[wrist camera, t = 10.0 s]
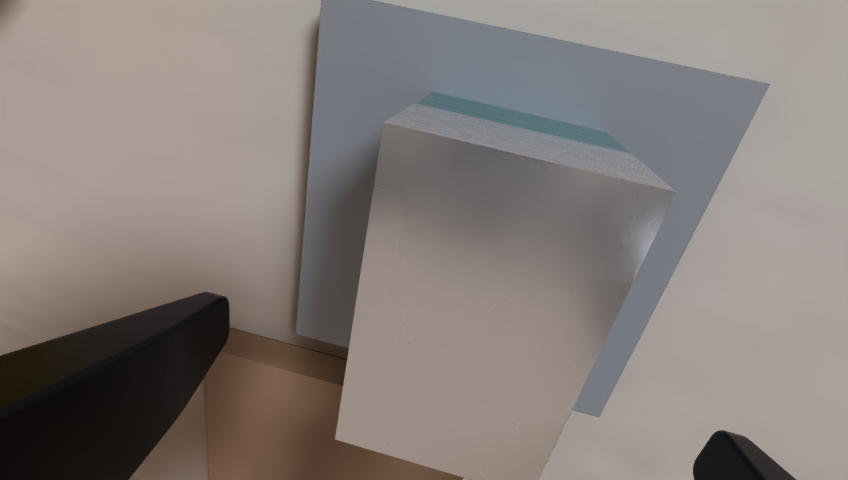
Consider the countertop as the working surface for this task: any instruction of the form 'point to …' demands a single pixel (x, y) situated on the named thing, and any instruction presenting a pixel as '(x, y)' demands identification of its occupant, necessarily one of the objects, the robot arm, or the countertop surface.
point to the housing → (489, 283)
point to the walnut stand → (286, 418)
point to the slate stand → (516, 90)
